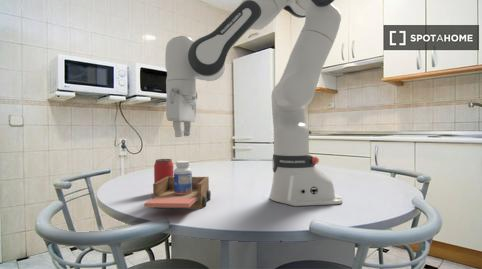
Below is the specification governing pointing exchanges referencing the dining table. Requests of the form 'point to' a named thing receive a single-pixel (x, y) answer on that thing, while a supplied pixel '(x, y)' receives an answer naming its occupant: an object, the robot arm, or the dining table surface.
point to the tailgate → (171, 201)
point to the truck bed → (198, 189)
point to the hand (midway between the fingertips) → (183, 136)
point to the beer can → (163, 169)
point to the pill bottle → (182, 178)
